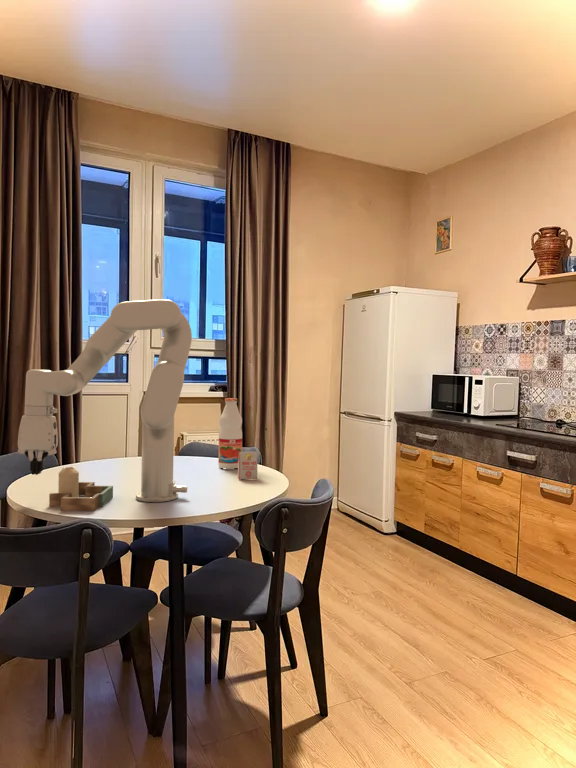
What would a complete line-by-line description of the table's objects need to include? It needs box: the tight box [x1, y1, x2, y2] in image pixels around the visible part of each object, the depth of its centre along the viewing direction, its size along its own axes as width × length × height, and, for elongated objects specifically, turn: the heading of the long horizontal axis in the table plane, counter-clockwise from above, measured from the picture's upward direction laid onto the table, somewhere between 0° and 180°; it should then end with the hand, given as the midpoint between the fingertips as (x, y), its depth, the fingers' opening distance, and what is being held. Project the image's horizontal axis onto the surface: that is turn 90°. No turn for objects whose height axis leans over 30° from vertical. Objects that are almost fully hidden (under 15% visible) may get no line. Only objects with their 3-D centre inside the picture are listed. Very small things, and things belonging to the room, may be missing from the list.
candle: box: [57, 466, 80, 497], centre depth 160 cm, size 6×6×10 cm
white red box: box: [237, 451, 258, 480], centre depth 197 cm, size 4×7×10 cm, turn 100°
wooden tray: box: [48, 481, 114, 512], centre depth 160 cm, size 16×21×4 cm
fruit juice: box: [217, 397, 243, 470], centre depth 218 cm, size 9×9×28 cm
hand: (36, 473), depth 159 cm, fingers closed
